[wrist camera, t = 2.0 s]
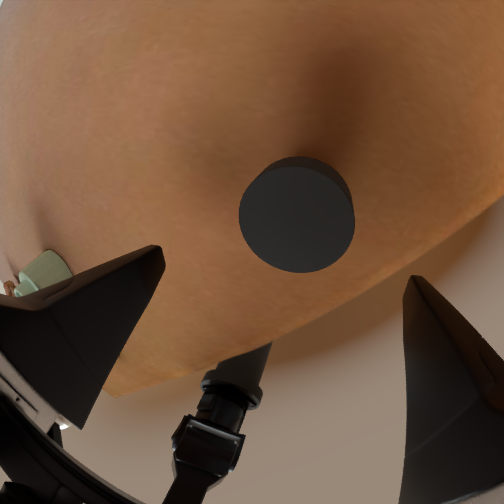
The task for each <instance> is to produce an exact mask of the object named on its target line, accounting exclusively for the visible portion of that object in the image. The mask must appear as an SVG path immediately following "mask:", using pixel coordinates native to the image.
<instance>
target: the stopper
mask: <svg viewBox="0 0 504 504" xmlns="http://www.w3.org/2000/svg"><path fill="white" fill-rule="evenodd" d="M239 224H240V228H241V232H242V234H243V237H244V239H245V241H246V242H247V244H248V245H249V247H250V248H251V249H252V251H253V252H254V253H255V254H256V255H257V256H258V257H259V258H261V259H262V260H263V261H265V262H266V263H268V264H270V265H271V266H274V267H276V268H278V269H281V270H284V271H289V272H295V273H307V272H314V271H318V270H321V269H324V268H326V267H328V266H330V265H331V264H333V263H334V262H336V261H337V260H338V259H339V258H340V257H341V256H342V255H343V254H344V253H345V252H346V250H347V249H348V247H349V245H350V243H351V241H352V238H353V235H354V229H355V217H354V209H353V202H352V197H351V193H350V190H349V188H348V186H347V184H346V182H345V181H344V179H343V178H342V177H341V176H340V175H339V173H338V172H337V171H335V170H334V169H333V168H332V167H330V166H329V165H327V164H326V163H324V162H321V161H319V160H316V159H313V158H309V157H300V156H297V157H288V158H284V159H281V160H278V161H276V162H274V163H272V164H271V165H269V166H268V167H267V168H265V169H264V170H263V171H262V172H261V173H260V174H259V175H258V176H257V177H256V178H255V180H254V181H253V182H252V183H251V184H250V185H249V186H248V188H247V189H246V191H245V192H244V194H243V196H242V199H241V202H240V207H239Z"/></svg>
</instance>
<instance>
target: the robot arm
mask: <svg viewBox="0 0 504 504" xmlns="http://www.w3.org/2000/svg"><path fill="white" fill-rule="evenodd" d="M165 267H166V263H165V259H164V255H163V251H162V248H161V247H160V246H158V245H149V246H146V247H144V248H141V249H138V250H136V251H133V252H131V253H128V254H126V255H123V256H121V257H118V258H116V259H113V260H111V261H108V262H106V263H103V264H101V265H98V266H96V267H94V268H91V269H89V270H86V271H84V272H82V273H79V274H77V275H76V276H72V277H70V278H68V279H65V280H63V281H60V282H58V283H56V284H53V285H50V286H48V287H45V288H43V289H40V290H38V291H35V292H32V293H30V294H27V295H24V296H20V297H11V296H7V295H3V294H0V466H1V468H2V469H3V470H4V472H5V473H6V474H7V475H8V477H9V478H10V479H11V481H12V482H4V484H3V486H2V488H1V490H0V504H83V503H85V504H145V503H143V502H141V501H139V500H137V499H136V498H134V497H132V496H130V495H129V494H127V493H125V492H123V491H122V490H120V489H118V488H117V487H115V486H113V485H112V484H110V483H109V482H107V481H106V480H104V479H103V478H101V477H100V476H98V475H96V474H95V473H94V472H92V471H91V470H90V469H88V468H87V467H85V466H84V465H83V464H81V463H80V462H79V461H78V460H76V459H75V458H74V457H72V456H71V455H70V454H69V453H67V452H66V451H65V450H64V449H63V445H62V438H61V432H60V431H61V430H60V425H59V424H58V423H56V422H55V420H56V419H57V417H58V416H59V415H61V416H63V417H64V418H65V419H66V420H68V421H69V422H70V423H72V424H73V425H74V426H76V427H77V428H78V429H80V430H82V428H83V427H84V425H85V423H86V420H87V418H88V416H89V414H90V412H91V409H92V408H93V406H94V403H95V401H96V399H97V397H98V395H99V393H100V391H101V389H102V386H103V385H104V383H105V381H106V379H107V377H108V375H109V373H110V371H111V370H112V368H113V366H114V364H115V362H116V360H117V358H118V356H119V355H120V353H121V351H122V349H123V347H124V345H125V344H126V342H127V340H128V338H129V336H130V335H131V333H132V331H133V329H134V328H135V326H136V324H137V322H138V321H139V319H140V317H141V315H142V314H143V312H144V310H145V309H146V307H147V305H148V303H149V302H150V300H151V298H152V296H153V294H154V292H155V289H156V287H157V285H158V283H159V281H160V279H161V277H162V275H163V273H164V271H165ZM403 344H404V355H405V370H406V393H407V422H406V445H405V458H404V468H403V476H402V484H401V492H400V497H399V503H398V504H504V361H503V359H502V358H501V357H500V356H499V355H498V354H497V353H496V352H495V350H494V349H493V348H492V347H491V346H490V345H489V344H488V343H487V341H486V340H485V339H484V338H482V336H481V335H480V334H479V333H478V331H477V330H476V329H475V328H474V327H473V326H472V325H471V324H470V323H469V322H468V321H467V320H466V319H465V318H464V317H463V316H462V315H461V313H459V311H458V310H456V308H455V307H454V306H453V305H451V303H450V302H448V300H446V299H445V297H443V296H442V295H441V294H440V293H439V292H438V291H437V290H436V289H435V288H434V287H433V286H432V285H431V284H430V283H429V282H428V281H427V280H426V279H424V278H423V277H422V276H417V275H411V276H410V278H409V280H408V283H407V287H406V289H405V292H404V295H403ZM202 390H203V391H204V394H203V396H202V398H201V400H200V402H199V404H198V406H197V409H198V412H197V413H196V416H195V417H194V416H192V415H191V414H189V415H188V416H184V417H183V419H182V421H181V423H180V425H179V426H178V428H177V429H176V431H175V432H174V434H173V435H172V437H171V439H172V441H173V443H172V445H173V446H172V449H173V450H175V451H174V453H173V459H172V470H173V475H174V479H175V480H174V482H173V484H172V486H171V488H170V489H169V491H168V493H167V495H166V497H165V499H164V501H163V503H162V504H202V501H203V499H204V497H205V494H206V492H207V491H209V490H210V489H212V488H214V487H215V486H217V485H218V484H220V483H221V482H222V480H223V479H224V478H225V477H226V475H227V474H228V471H230V472H232V471H233V470H234V468H235V466H236V464H237V461H238V459H239V456H240V453H241V450H242V446H243V443H244V440H245V437H246V435H244V434H239V431H240V428H241V425H242V423H243V420H244V417H245V415H246V412H247V409H248V408H256V406H257V404H255V403H254V402H253V401H252V400H250V399H249V398H248V397H247V396H246V395H244V394H243V393H242V392H241V391H240V390H238V389H237V388H236V387H235V386H234V385H232V384H224V385H212V386H203V387H202Z"/></svg>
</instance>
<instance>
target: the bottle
mask: <svg viewBox="0 0 504 504" xmlns="http://www.w3.org/2000/svg"><path fill="white" fill-rule="evenodd" d="M72 276H73V275H72V273H71V271H70V270H69V268H68V266H67V265H66V264H65V262H64V261H63V260H62V259H61V257H60V256H59V255H57V254H56V253H55V252H53V251H51V250H47V251H45V252H43V253H42V254H41V255H39V256H38V257H37V258H36V259H35V260H33V261H32V262H31V263H30V264H28V265H27V266H26V267H25V268H24V269H23V270H21V271H20V272H19V279H20V284H19V285H18V286H17V287H16V288H15V289H14V293H15V295H16V297H20V296H24V295H27V294H30V293H32V292H35V291H38V290H40V289H43V288H45V287H48V286H50V285H53V284H56V283H58V282H60V281H63V280H65V279H68V278H70V277H72Z"/></svg>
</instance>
